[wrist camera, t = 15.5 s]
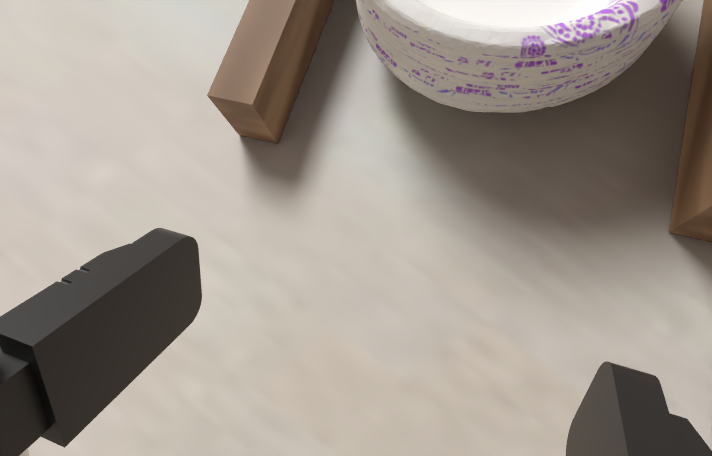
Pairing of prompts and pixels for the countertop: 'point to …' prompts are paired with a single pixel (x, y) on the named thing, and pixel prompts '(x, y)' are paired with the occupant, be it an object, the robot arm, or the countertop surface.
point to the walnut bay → (296, 47)
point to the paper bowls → (510, 47)
